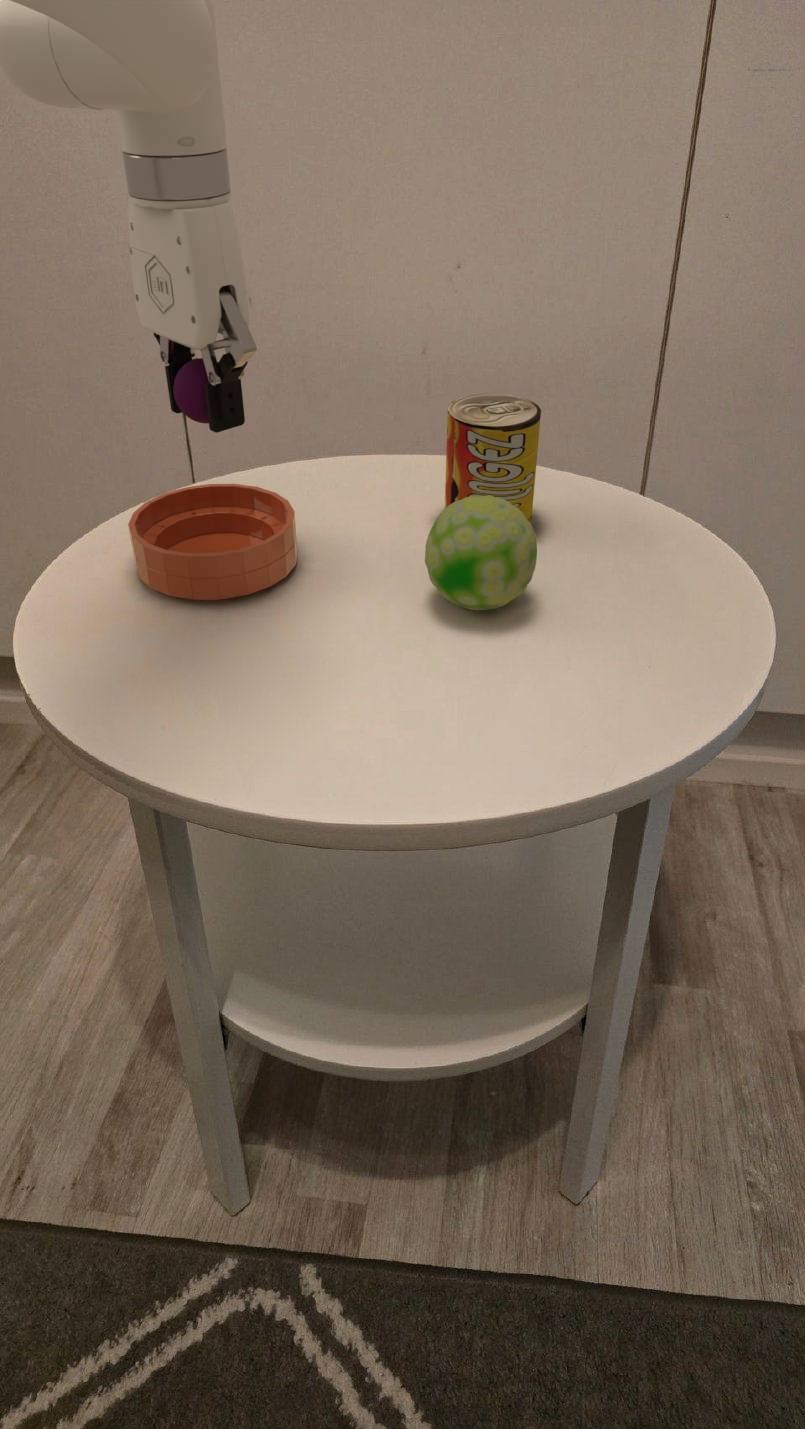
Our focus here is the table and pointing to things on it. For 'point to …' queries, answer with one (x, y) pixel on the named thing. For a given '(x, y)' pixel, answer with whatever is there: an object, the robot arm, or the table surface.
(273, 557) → the bowl
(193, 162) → the robot arm
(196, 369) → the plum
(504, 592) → the decorative ball
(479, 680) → the table surface
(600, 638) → the table surface
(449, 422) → the beverage can
